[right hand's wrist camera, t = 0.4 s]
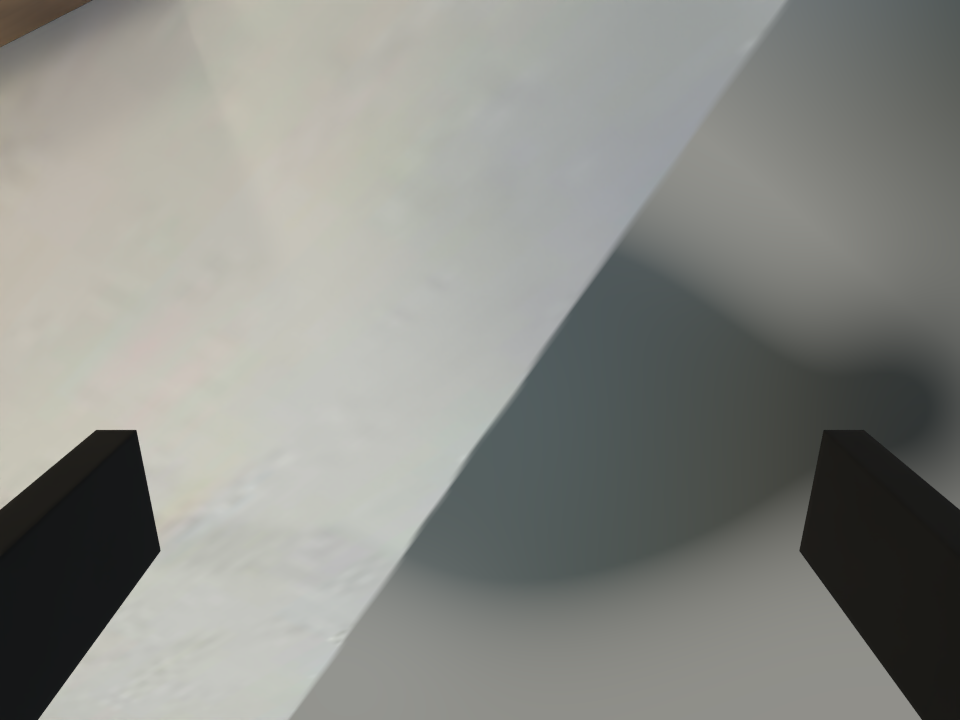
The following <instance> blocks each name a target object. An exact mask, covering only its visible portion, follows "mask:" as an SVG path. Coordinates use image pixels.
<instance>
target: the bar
mask: <svg viewBox="0 0 960 720" xmlns="http://www.w3.org/2000/svg"><path fill="white" fill-rule="evenodd" d="M90 1H92V0H0V47H1V46H3V45H5V44H7V43H9V42H11V41H13V40H15V39H17V38H19V37H21V36H23V35H25V34H27V33H29V32H31V31H33V30H35V29H37V28H39V27H41V26H43V25H45V24H47V23H49V22H50V21H52V20H54V19H56V18H58V17H60V16H62V15H64V14H66V13H68V12H70V11H72V10H74V9H76V8H78V7H80V6H82V5H84V4H86V3H88V2H90Z"/></svg>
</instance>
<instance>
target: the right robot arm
mask: <svg viewBox="0 0 960 720" xmlns="http://www.w3.org/2000/svg"><path fill="white" fill-rule="evenodd" d="M159 552H160V546H159V541H158V536H157V531H156V526H155V521H154V516H153V511H152V506H151V501H150V496H149V491H148V486H147V481H146V476H145V471H144V466H143V461H142V456H141V451H140V446H139V441H138V436H137V431H136V430H96V431H95V432H93V433H92V434H91V435H90V436H89V437H87V438H86V439H85V440H84V441H83V442H81V443H80V444H79V445H78V446H76V447H75V448H74V449H73V450H72V451H70V452H69V453H68V454H67V455H66V456H64V457H63V458H62V459H61V460H60V461H58V462H57V463H56V464H55V465H54V466H52V467H51V468H50V469H49V470H48V471H46V472H45V473H44V474H43V475H42V476H40V477H39V478H38V479H37V480H36V481H34V482H33V483H32V484H31V485H30V486H28V487H27V488H26V489H25V490H24V491H22V492H21V493H20V494H19V495H18V496H16V497H15V498H14V499H13V500H12V501H10V502H9V503H8V504H7V505H6V506H4V507H3V508H2V509H1V510H0V720H38V719H39V718H40V716H41V715H42V713H43V712H44V711H45V709H46V708H47V707H48V705H49V704H50V702H51V701H52V700H53V698H54V697H55V696H56V694H57V693H58V691H59V690H60V689H61V687H62V686H63V685H64V683H65V682H66V680H67V679H68V678H69V676H70V675H71V674H72V672H73V671H74V669H75V668H76V667H77V665H78V664H79V663H80V661H81V660H82V658H83V657H84V656H85V654H86V653H87V651H88V650H89V649H90V647H91V646H92V645H93V643H94V642H95V640H96V639H97V638H98V636H99V635H100V634H101V632H102V631H103V629H104V628H105V627H106V625H107V624H108V623H109V621H110V620H111V618H112V617H113V616H114V614H115V613H116V612H117V610H118V609H119V607H120V606H121V605H122V603H123V602H124V601H125V599H126V598H127V596H128V595H129V594H130V592H131V591H132V590H133V588H134V587H135V585H136V584H137V583H138V581H139V580H140V578H141V577H142V576H143V574H144V573H145V572H146V570H147V569H148V567H149V566H150V565H151V563H152V562H153V561H154V559H155V558H156V556H157V555H158V554H159ZM800 552H801V554H802V555H803V556H804V558H805V559H806V561H807V562H808V563H809V565H810V566H811V567H812V569H813V570H814V572H815V573H816V574H817V576H818V577H819V579H820V580H821V581H822V583H823V584H824V585H825V587H826V588H827V590H828V591H829V592H830V594H831V595H832V596H833V598H834V599H835V601H836V602H837V603H838V605H839V606H840V607H841V609H842V610H843V612H844V613H845V614H846V616H847V617H848V618H849V620H850V621H851V623H852V624H853V625H854V627H855V628H856V629H857V631H858V632H859V634H860V635H861V636H862V638H863V639H864V640H865V642H866V643H867V645H868V646H869V647H870V649H871V650H872V651H873V653H874V654H875V656H876V657H877V658H878V660H879V661H880V663H881V664H882V665H883V667H884V668H885V669H886V671H887V672H888V674H889V675H890V676H891V678H892V679H893V680H894V682H895V683H896V684H897V686H898V687H899V689H900V690H901V691H902V693H903V694H904V695H905V697H906V698H907V700H908V701H909V702H910V704H911V705H912V707H913V708H914V709H915V711H916V712H917V713H918V715H919V716H920V718H921V719H922V720H960V510H959V509H958V508H957V507H956V506H954V505H953V504H952V503H951V502H950V501H948V500H947V499H946V498H945V497H944V496H942V495H941V494H940V493H939V492H938V491H936V490H935V489H934V488H933V487H932V486H930V485H929V484H928V483H927V482H926V481H924V480H923V479H922V478H921V477H920V476H918V475H917V474H916V473H915V472H914V471H912V470H911V469H910V468H909V467H908V466H906V465H905V464H904V463H903V462H901V461H900V460H899V459H898V458H897V457H896V456H894V455H893V454H892V453H891V452H890V451H888V450H887V449H886V448H885V447H883V446H882V445H881V444H880V443H879V442H877V441H876V440H875V439H874V438H873V437H871V436H870V435H869V434H868V433H867V432H865V431H864V430H824V431H823V436H822V441H821V446H820V451H819V456H818V461H817V466H816V471H815V476H814V481H813V486H812V491H811V496H810V501H809V506H808V511H807V516H806V521H805V526H804V531H803V536H802V541H801V546H800Z"/></svg>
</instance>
